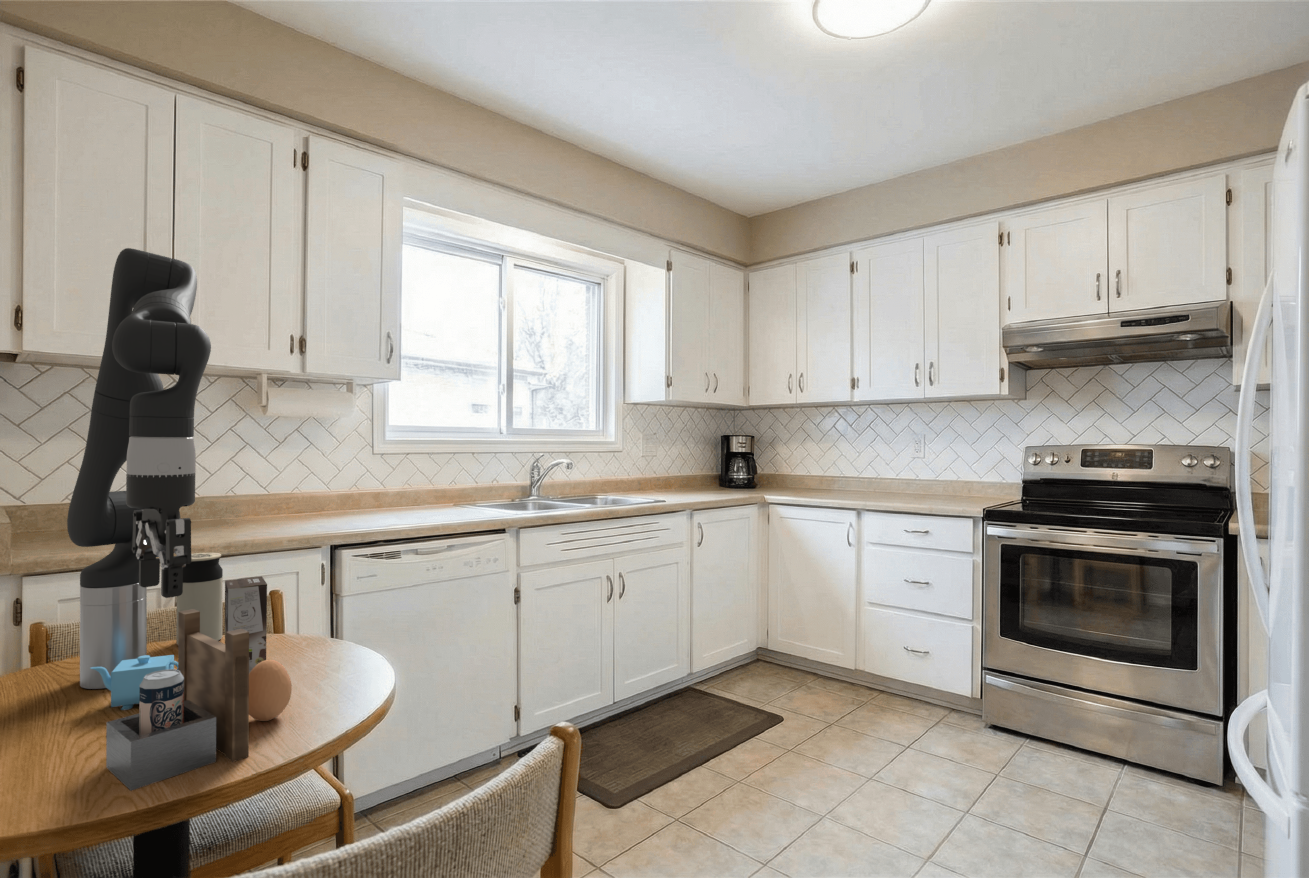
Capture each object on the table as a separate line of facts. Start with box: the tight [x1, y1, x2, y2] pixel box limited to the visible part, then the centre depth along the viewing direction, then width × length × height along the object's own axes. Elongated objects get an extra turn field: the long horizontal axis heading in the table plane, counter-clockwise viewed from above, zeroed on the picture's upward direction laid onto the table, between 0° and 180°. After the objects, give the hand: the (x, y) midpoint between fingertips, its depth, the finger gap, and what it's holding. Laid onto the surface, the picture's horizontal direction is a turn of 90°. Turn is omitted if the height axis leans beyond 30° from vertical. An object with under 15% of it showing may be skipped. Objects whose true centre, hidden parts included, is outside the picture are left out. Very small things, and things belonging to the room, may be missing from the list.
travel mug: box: [175, 552, 224, 645], centre depth 143 cm, size 8×8×18 cm
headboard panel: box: [177, 609, 250, 763], centre depth 98 cm, size 19×2×17 cm, turn 53°
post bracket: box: [105, 700, 217, 792], centre depth 91 cm, size 9×9×6 cm
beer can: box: [138, 668, 184, 736], centre depth 91 cm, size 5×5×12 cm
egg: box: [249, 659, 293, 722], centre depth 105 cm, size 7×7×9 cm
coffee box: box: [224, 576, 268, 673], centre depth 127 cm, size 9×6×16 cm
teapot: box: [90, 654, 178, 711], centre depth 111 cm, size 12×6×8 cm, turn 115°
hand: (160, 591), depth 92 cm, fingers open, 8 cm apart
